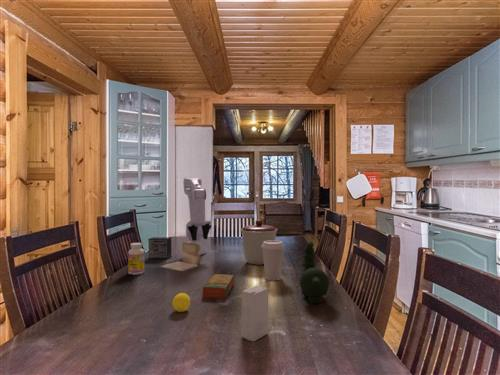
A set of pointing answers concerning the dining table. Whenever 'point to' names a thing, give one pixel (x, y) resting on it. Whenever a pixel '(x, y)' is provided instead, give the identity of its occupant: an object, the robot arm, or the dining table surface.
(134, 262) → the supplement bottle
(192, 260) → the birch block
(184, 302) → the lemon
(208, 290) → the carton
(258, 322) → the skincare box
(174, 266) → the beige mat
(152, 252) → the small box
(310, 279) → the green topiary plant
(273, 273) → the coffee cup
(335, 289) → the dining table surface
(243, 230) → the canister
